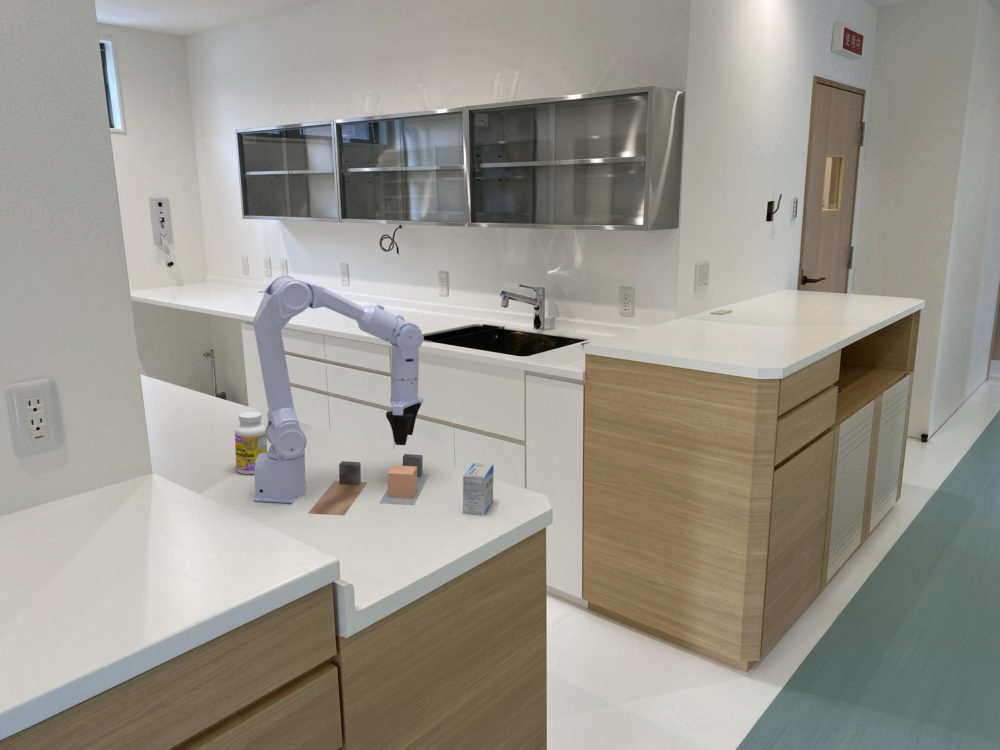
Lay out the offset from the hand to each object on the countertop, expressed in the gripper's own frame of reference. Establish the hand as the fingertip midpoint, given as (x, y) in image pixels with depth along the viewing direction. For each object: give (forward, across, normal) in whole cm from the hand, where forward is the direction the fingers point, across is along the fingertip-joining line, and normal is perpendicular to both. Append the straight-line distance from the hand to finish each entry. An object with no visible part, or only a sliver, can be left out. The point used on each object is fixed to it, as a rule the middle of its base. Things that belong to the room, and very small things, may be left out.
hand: (404, 439), depth 162 cm
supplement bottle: (+10, +1, +34) cm, 36 cm away
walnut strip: (+9, -13, +10) cm, 19 cm away
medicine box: (+9, -15, -18) cm, 25 cm away
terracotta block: (+8, -10, -2) cm, 13 cm away
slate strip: (+9, -6, -2) cm, 11 cm away
